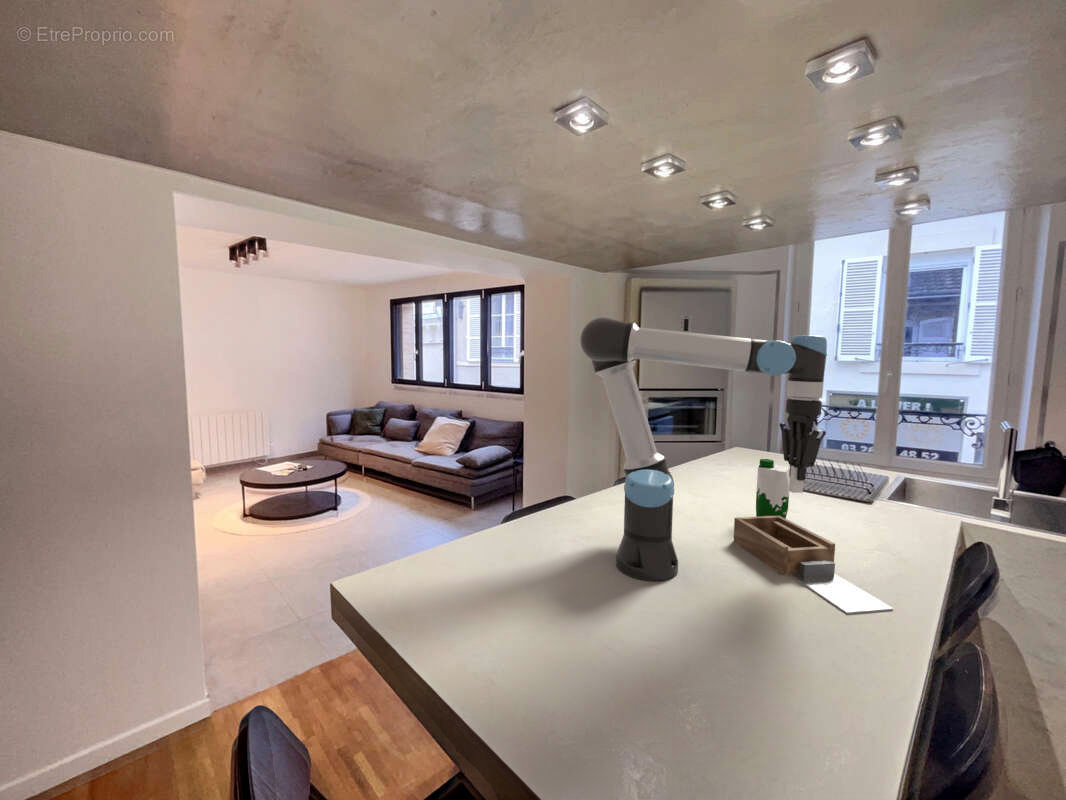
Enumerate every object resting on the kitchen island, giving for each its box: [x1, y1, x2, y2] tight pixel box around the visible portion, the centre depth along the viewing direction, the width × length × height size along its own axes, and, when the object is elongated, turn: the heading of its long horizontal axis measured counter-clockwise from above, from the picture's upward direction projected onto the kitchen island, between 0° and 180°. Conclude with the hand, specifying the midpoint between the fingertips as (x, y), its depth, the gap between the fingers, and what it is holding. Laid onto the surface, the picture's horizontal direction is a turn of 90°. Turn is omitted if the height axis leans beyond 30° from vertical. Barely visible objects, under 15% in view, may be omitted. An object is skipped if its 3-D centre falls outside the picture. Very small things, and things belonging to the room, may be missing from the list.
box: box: [733, 516, 836, 576], centre depth 118 cm, size 14×20×7 cm
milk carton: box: [755, 458, 790, 519], centre depth 142 cm, size 9×9×20 cm
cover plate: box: [787, 560, 894, 615], centre depth 100 cm, size 11×17×4 cm, turn 8°
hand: (795, 491), depth 112 cm, fingers closed
